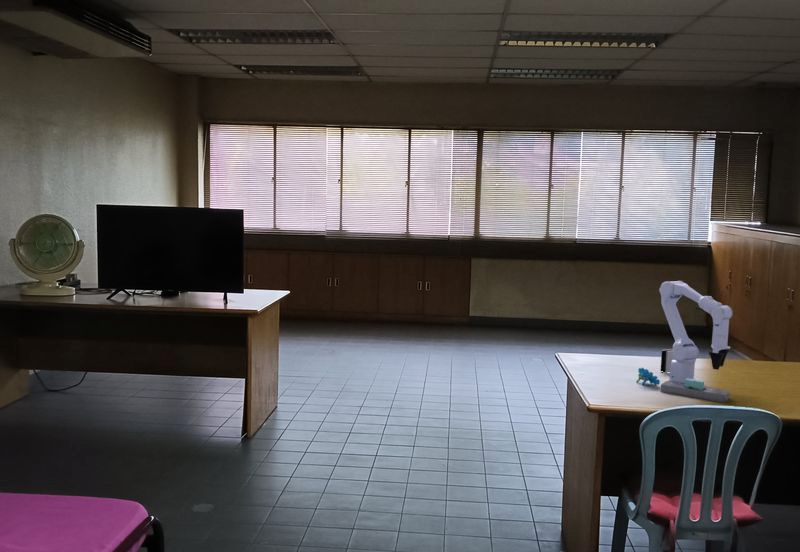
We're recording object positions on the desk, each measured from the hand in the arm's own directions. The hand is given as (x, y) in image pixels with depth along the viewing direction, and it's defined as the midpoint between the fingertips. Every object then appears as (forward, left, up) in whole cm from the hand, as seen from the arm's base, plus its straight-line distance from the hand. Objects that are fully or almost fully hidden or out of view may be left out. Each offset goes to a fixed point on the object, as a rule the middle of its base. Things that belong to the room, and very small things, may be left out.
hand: (717, 367), depth 281 cm
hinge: (-25, +24, -10) cm, 36 cm away
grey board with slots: (-5, -15, -9) cm, 18 cm away
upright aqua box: (-5, -15, -9) cm, 18 cm away
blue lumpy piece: (-25, -11, -10) cm, 29 cm away
